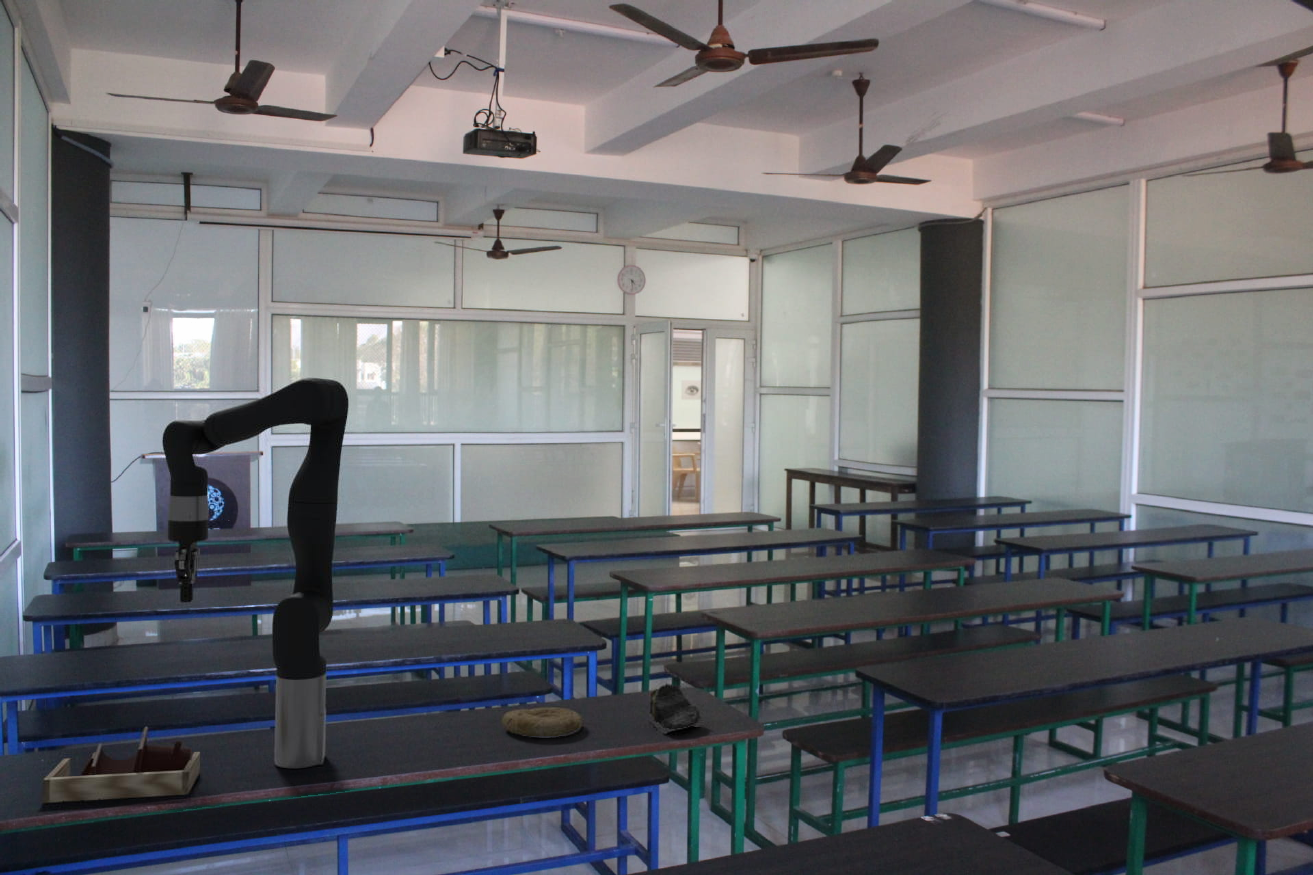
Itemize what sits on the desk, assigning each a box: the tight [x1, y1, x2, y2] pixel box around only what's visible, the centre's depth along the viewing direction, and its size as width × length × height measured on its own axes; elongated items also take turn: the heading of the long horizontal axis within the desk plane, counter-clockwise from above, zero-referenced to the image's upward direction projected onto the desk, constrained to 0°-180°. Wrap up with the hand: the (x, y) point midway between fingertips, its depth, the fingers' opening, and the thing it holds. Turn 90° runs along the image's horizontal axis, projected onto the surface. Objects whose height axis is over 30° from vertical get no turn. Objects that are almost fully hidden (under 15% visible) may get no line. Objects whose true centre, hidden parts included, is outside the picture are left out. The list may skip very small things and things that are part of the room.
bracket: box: [80, 726, 192, 776], centre depth 183 cm, size 6×17×10 cm, turn 113°
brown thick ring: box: [501, 706, 584, 736], centre depth 221 cm, size 17×15×5 cm
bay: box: [42, 751, 201, 804], centre depth 181 cm, size 23×11×4 cm, turn 104°
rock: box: [649, 683, 702, 729], centre depth 227 cm, size 14×11×10 cm
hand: (186, 601), depth 206 cm, fingers closed
